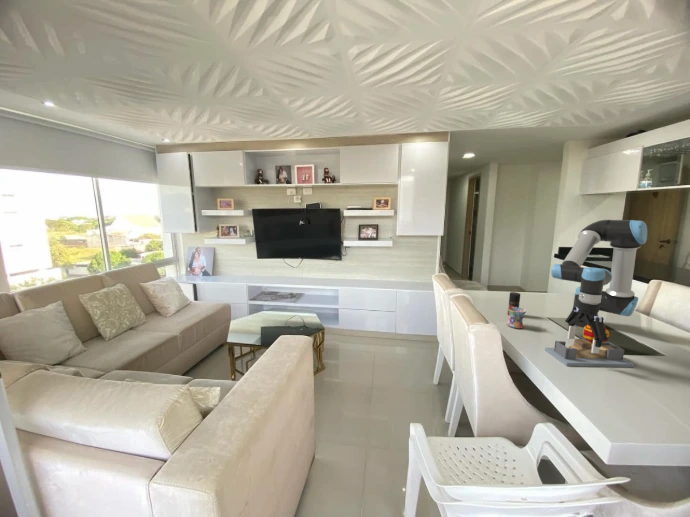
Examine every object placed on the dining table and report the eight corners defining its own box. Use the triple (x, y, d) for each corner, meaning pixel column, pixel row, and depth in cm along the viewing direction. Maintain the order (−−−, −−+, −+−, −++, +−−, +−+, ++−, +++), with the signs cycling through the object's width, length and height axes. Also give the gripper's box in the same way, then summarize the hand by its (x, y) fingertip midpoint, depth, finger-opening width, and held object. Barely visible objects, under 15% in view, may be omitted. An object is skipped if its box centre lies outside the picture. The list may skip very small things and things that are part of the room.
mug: (522, 331, 159) (524, 313, 157) (504, 326, 165) (506, 309, 163) (526, 324, 168) (528, 308, 166) (509, 320, 174) (510, 304, 172)
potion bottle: (602, 352, 135) (607, 323, 133) (576, 343, 144) (581, 316, 142) (611, 347, 140) (616, 319, 137) (586, 339, 149) (591, 312, 146)
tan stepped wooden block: (606, 353, 131) (609, 339, 130) (615, 358, 127) (618, 344, 126) (568, 352, 132) (570, 338, 130) (575, 357, 127) (578, 343, 126)
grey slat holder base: (604, 351, 136) (606, 338, 135) (633, 367, 122) (635, 353, 121) (544, 350, 137) (546, 338, 136) (566, 365, 123) (568, 352, 122)
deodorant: (505, 313, 186) (507, 292, 183) (513, 313, 186) (516, 292, 184) (511, 317, 180) (513, 294, 177) (520, 316, 180) (522, 294, 178)
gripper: (560, 293, 137) (554, 333, 141) (605, 312, 113) (597, 359, 117) (575, 293, 137) (569, 333, 141) (624, 312, 113) (615, 359, 116)
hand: (582, 345), depth 129 cm, fingers open, 13 cm apart
